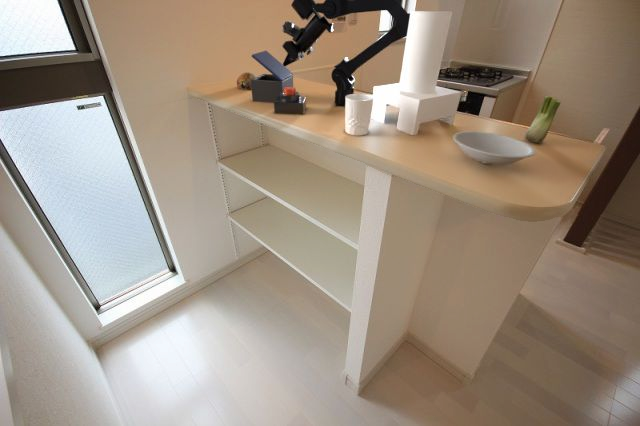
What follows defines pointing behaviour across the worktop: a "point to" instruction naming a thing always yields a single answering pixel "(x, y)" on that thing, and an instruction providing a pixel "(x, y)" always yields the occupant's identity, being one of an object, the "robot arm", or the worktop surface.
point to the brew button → (289, 90)
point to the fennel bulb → (542, 120)
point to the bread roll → (245, 80)
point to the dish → (492, 147)
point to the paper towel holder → (420, 76)
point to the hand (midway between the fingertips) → (283, 65)
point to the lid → (272, 65)
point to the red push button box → (290, 104)
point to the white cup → (358, 113)
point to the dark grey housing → (268, 87)
